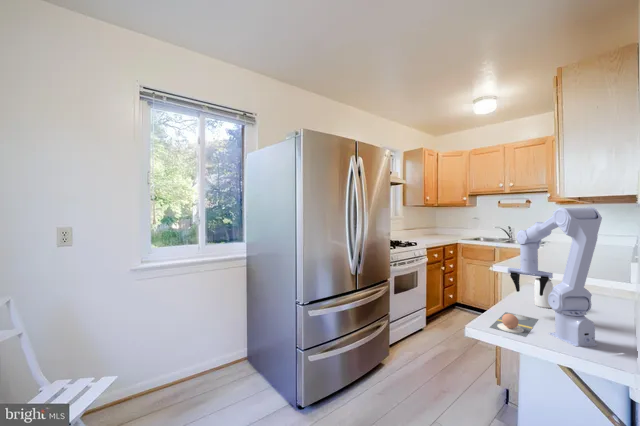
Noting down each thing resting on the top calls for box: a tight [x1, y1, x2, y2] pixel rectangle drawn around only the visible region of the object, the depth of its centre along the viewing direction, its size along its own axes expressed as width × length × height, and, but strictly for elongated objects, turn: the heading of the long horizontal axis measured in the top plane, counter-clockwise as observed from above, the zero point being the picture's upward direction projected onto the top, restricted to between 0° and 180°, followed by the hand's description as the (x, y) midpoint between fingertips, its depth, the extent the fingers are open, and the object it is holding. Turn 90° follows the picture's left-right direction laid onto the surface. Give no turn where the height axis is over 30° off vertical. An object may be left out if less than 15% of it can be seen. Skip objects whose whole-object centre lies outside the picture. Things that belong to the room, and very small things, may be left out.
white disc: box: [497, 323, 524, 334], centre depth 101 cm, size 8×8×1 cm
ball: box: [502, 313, 519, 328], centre depth 101 cm, size 5×5×5 cm
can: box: [533, 277, 554, 309], centre depth 125 cm, size 6×6×12 cm
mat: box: [489, 311, 539, 338], centre depth 106 cm, size 22×11×1 cm, turn 133°
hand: (529, 293), depth 113 cm, fingers open, 7 cm apart
